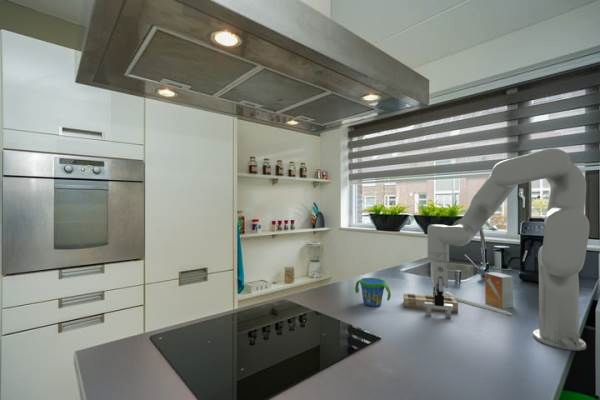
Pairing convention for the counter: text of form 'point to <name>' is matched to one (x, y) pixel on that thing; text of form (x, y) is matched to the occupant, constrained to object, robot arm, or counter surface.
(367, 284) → the snack cup
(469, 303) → the spatula
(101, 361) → the counter surface
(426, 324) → the counter surface
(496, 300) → the small box
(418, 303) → the rail
